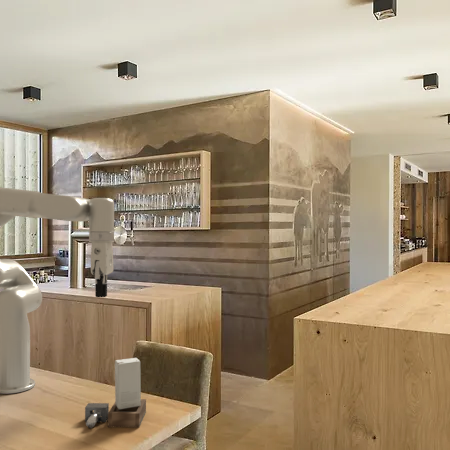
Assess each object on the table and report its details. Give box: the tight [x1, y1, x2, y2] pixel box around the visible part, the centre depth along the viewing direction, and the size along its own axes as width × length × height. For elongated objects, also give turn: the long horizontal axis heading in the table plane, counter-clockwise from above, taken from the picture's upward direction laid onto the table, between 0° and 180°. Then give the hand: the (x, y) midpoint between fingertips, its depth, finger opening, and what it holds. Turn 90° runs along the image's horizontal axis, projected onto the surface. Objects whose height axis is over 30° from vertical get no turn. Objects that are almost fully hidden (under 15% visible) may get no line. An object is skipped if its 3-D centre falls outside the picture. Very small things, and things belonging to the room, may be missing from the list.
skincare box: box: [114, 357, 142, 409], centre depth 126 cm, size 6×4×12 cm
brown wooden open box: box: [107, 398, 147, 428], centre depth 126 cm, size 8×10×4 cm
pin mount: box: [84, 402, 110, 423], centre depth 126 cm, size 5×3×4 cm, turn 90°
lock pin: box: [85, 411, 101, 429], centre depth 124 cm, size 3×9×3 cm, turn 0°
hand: (101, 296), depth 148 cm, fingers closed
